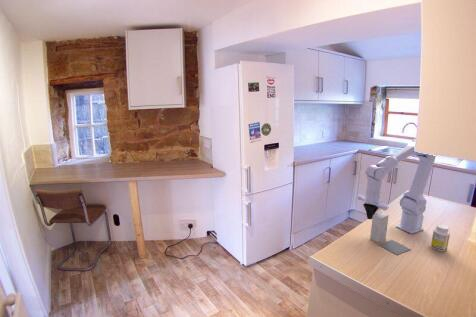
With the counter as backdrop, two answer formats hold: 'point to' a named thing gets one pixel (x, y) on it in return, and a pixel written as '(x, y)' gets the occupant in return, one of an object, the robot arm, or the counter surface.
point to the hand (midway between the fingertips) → (369, 218)
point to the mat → (394, 247)
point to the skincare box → (379, 227)
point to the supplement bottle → (440, 238)
